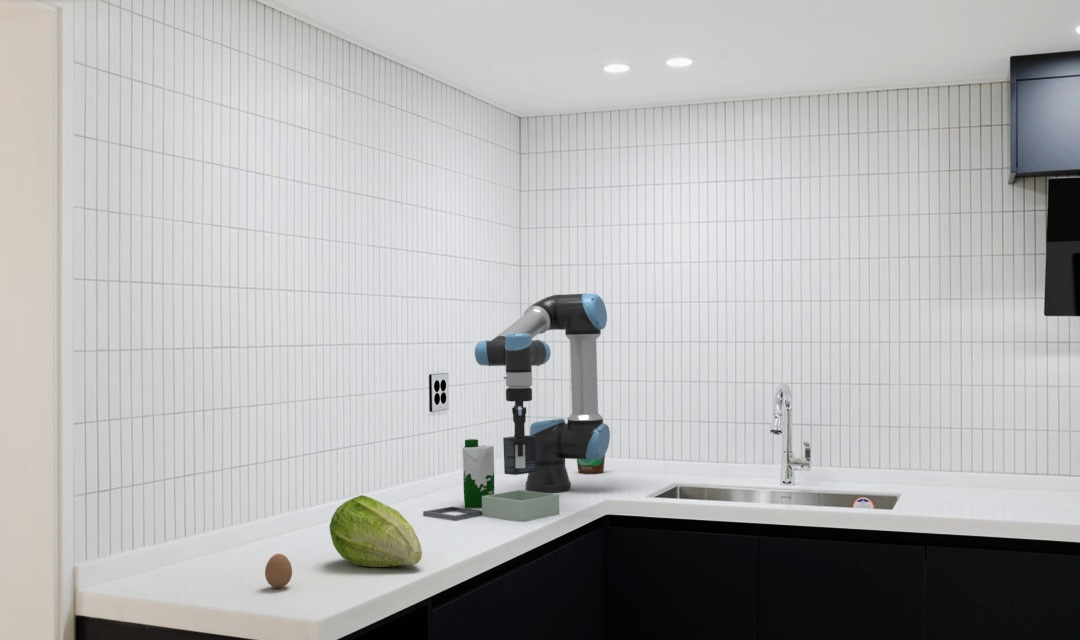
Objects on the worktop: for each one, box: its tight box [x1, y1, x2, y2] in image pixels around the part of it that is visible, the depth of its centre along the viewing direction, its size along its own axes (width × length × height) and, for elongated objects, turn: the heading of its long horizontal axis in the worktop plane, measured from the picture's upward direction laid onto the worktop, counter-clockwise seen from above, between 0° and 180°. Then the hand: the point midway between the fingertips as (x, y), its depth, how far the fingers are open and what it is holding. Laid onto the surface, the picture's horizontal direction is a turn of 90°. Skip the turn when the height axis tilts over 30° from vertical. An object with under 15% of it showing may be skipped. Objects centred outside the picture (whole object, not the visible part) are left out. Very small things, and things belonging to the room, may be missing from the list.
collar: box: [422, 505, 483, 522], centre depth 303 cm, size 12×14×1 cm
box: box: [502, 435, 537, 476], centre depth 302 cm, size 8×6×11 cm
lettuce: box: [329, 494, 423, 568], centre depth 238 cm, size 15×25×16 cm
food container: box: [576, 450, 608, 475], centre depth 391 cm, size 12×6×10 cm, turn 81°
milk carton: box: [461, 438, 495, 509], centre depth 319 cm, size 9×9×20 cm
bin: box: [481, 489, 560, 522], centre depth 302 cm, size 16×16×6 cm
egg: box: [264, 553, 293, 589], centre depth 217 cm, size 5×5×7 cm
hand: (519, 465), depth 302 cm, fingers closed on box, 9 cm apart
